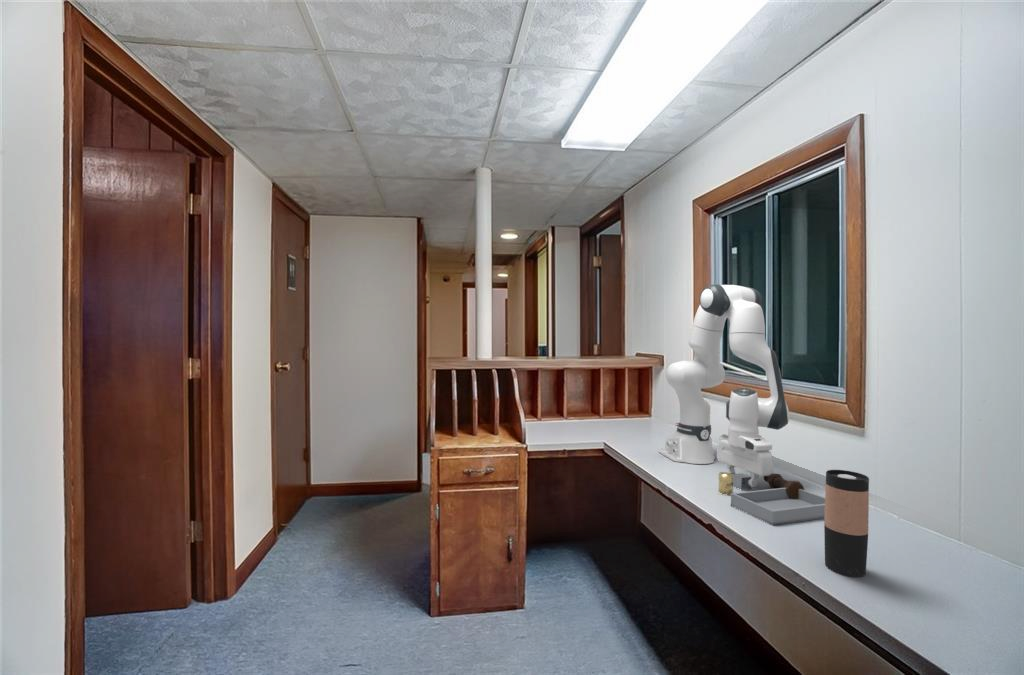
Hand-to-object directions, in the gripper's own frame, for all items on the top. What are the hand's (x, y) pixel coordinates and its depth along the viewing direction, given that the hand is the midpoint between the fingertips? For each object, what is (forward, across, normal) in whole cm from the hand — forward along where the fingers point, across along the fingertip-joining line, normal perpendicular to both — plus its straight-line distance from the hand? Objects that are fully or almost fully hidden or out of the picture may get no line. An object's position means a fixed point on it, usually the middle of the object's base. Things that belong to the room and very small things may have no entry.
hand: (742, 482), depth 156 cm
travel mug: (+2, +50, -20) cm, 54 cm away
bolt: (+2, +7, +8) cm, 11 cm away
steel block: (+2, 0, 0) cm, 2 cm away
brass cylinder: (+2, +3, -9) cm, 10 cm away
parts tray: (+2, +20, -4) cm, 20 cm away
